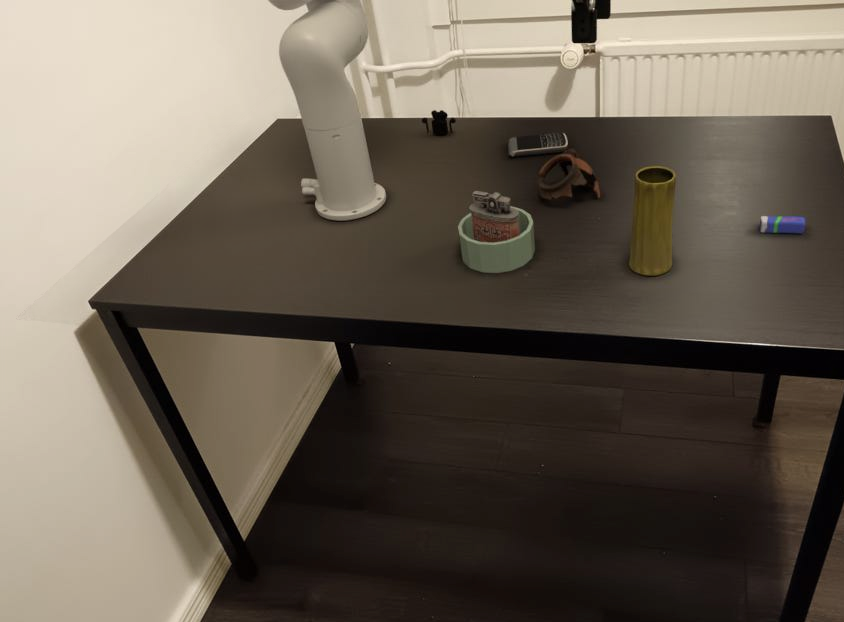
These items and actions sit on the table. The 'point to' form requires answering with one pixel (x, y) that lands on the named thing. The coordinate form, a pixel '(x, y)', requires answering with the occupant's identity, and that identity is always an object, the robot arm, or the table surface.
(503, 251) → the pale green hollow ring
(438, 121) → the wireless earbuds
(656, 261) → the vase
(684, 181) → the table surface
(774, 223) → the eraser
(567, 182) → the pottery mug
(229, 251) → the table surface
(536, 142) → the cell phone
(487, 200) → the lighter
